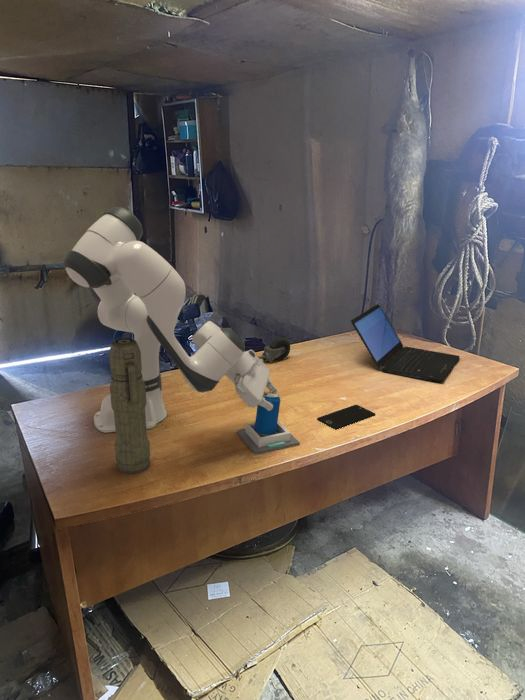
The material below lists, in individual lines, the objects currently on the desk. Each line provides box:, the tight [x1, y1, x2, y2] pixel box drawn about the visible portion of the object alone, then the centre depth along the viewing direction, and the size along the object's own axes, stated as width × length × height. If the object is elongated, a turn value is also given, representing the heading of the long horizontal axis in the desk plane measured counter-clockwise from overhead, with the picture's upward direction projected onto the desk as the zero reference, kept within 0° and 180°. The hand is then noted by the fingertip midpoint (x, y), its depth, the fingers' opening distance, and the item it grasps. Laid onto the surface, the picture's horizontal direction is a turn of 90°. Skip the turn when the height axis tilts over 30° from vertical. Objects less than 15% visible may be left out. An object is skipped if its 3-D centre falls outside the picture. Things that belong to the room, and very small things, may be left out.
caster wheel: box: [257, 337, 291, 364], centre depth 218 cm, size 6×10×15 cm
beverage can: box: [254, 391, 281, 436], centre depth 156 cm, size 6×6×12 cm
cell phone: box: [316, 404, 376, 431], centre depth 171 cm, size 9×18×1 cm, turn 126°
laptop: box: [350, 303, 460, 384], centre depth 217 cm, size 33×38×19 cm
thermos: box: [108, 337, 151, 475], centre depth 137 cm, size 9×12×35 cm
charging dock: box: [236, 420, 301, 455], centre depth 157 cm, size 14×14×3 cm
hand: (273, 400), depth 154 cm, fingers open, 8 cm apart
